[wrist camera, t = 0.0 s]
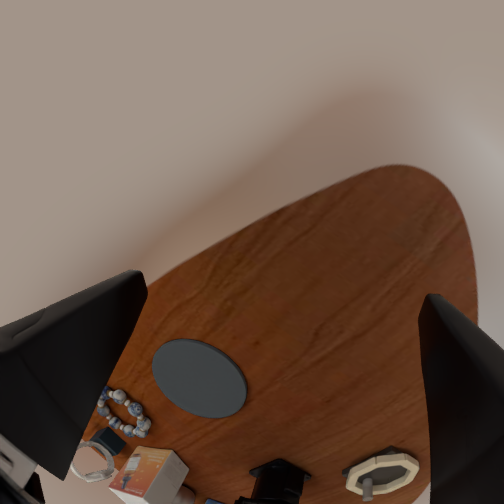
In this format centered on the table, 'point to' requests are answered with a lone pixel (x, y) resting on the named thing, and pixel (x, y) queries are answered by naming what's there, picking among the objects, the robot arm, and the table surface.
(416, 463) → the ring
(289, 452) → the table surface
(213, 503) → the medicine box
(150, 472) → the small box
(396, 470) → the peg stand
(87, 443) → the watch
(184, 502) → the silver water bottle
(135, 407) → the bracelet
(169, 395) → the felt pad
